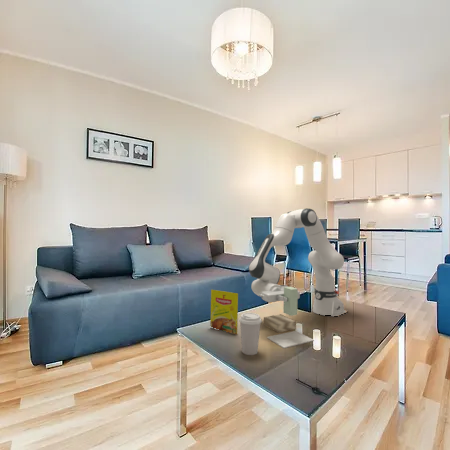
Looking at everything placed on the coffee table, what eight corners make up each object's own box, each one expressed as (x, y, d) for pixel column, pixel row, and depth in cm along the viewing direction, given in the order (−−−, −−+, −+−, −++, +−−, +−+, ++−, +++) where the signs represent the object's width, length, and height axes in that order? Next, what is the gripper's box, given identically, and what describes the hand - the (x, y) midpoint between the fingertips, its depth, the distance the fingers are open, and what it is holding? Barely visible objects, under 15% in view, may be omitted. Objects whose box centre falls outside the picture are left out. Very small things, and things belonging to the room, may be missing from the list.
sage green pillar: (289, 311, 126) (290, 286, 126) (297, 314, 122) (297, 288, 122) (283, 312, 124) (284, 287, 124) (290, 315, 120) (291, 289, 120)
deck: (280, 321, 147) (280, 314, 147) (295, 328, 136) (296, 321, 136) (263, 324, 141) (263, 317, 141) (277, 332, 131) (277, 324, 131)
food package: (209, 328, 134) (210, 289, 134) (210, 327, 135) (211, 289, 135) (236, 334, 127) (237, 293, 127) (237, 334, 128) (238, 293, 128)
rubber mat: (295, 331, 132) (295, 330, 132) (313, 340, 122) (313, 339, 122) (266, 337, 124) (266, 336, 124) (283, 348, 113) (283, 347, 113)
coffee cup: (234, 348, 112) (235, 313, 113) (253, 344, 116) (254, 311, 116) (244, 358, 104) (245, 320, 104) (265, 354, 107) (266, 317, 108)
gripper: (256, 288, 130) (274, 294, 118) (288, 285, 139) (307, 290, 127) (256, 300, 130) (274, 308, 117) (288, 296, 139) (307, 303, 127)
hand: (291, 299), depth 122 cm, fingers closed on sage green pillar, 4 cm apart
